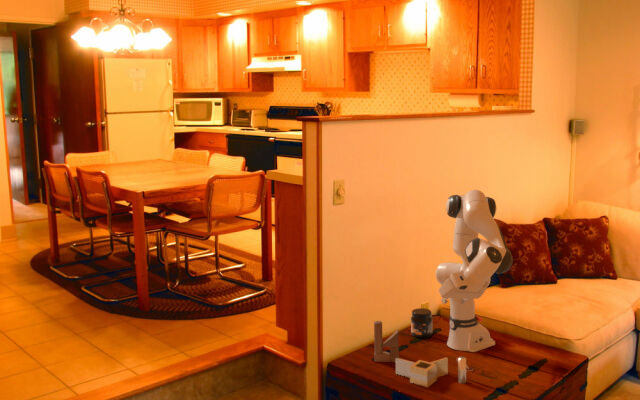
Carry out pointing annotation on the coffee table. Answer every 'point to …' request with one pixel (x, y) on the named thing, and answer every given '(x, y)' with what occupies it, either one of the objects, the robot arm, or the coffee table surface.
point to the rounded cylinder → (462, 370)
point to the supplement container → (421, 323)
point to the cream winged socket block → (422, 370)
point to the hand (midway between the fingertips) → (452, 302)
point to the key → (466, 366)
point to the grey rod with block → (385, 345)
